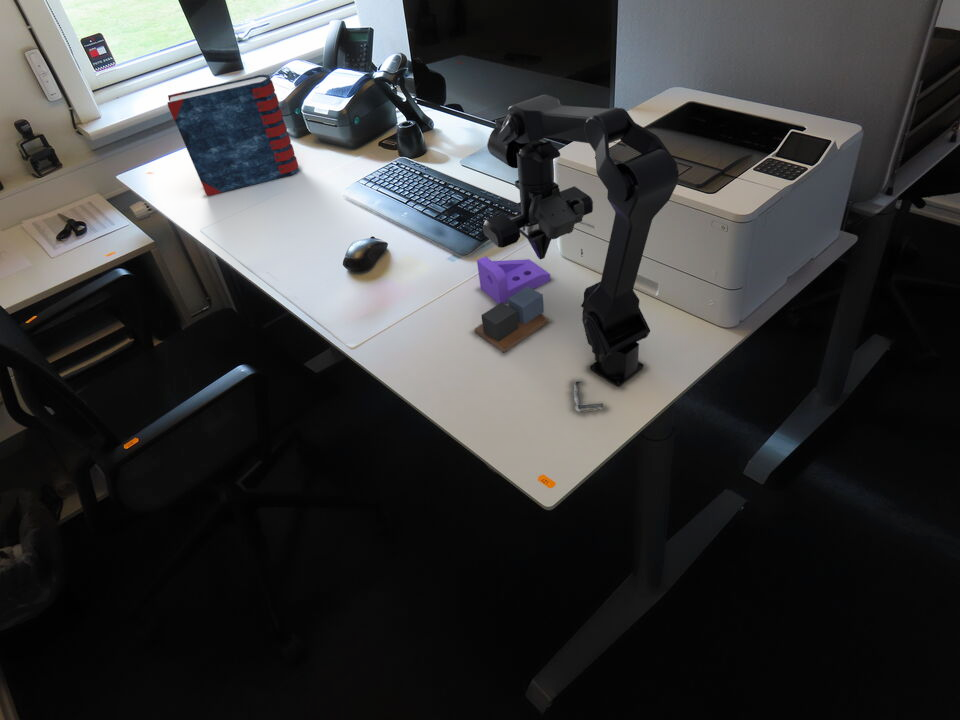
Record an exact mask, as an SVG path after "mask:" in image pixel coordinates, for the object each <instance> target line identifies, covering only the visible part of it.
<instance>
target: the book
mask: <svg viewBox="0 0 960 720" xmlns="http://www.w3.org/2000/svg"><path fill="white" fill-rule="evenodd" d="M275 91H276V89H275V85H274V83H273V80H272V79H271V76H270V75H269V74H258V75H254V76H249V77H245V78H241V79H236V80H231V81H227V82H222V83H217V84H214V85H209V86H206V87H200V88H196V89H191V90H186V91H180V92H176V93H173V94H169V95H167V97H168V101H167V108H168V109H169V112H170V114H171V117H172V118H173V121H174V122H175V125H176V127H177V129H178V131H179V134H180V136H181V139H182V141H183V143H184V145H185V148H186V150H187V153H188V155H189V157H190V160H191V162H192V164H193V167H194V169H195V172H196V174H197V176H198V178H199V181H200V183H201V185H202V188H203V190H204V193H205V195H206V197H209V196H214V195H218V194H221V193H225V192H230V191H233V190H238V189H242V188H245V187H250V186H254V185H257V184H262V183H266V182H269V181H275V180H279V179H282V178H286V177H291V176H294V175H295V174H297V173H298V172H299V171H300V169H299V162H298V160H297V156H296V154H295V150H294V146H293V144H292V140H291V137H290V133H289V132H288V128H287V125H286V122H285V120H284V115H283V110H282V108H281V106H280V101H279V98H278V96H277V94H276V92H275Z"/></svg>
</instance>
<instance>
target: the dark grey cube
mask: <svg viewBox="0 0 960 720" xmlns="http://www.w3.org/2000/svg"><path fill="white" fill-rule="evenodd" d="M480 316H481V324H483V331H484V333H486V334H487V335H489V336H490V337H492V338H493V339H495V340H496V341H498V342H499V341H500V340H502V339H503V338H505V337H506V336H508V335H509V334H511V333H512V332H514V331H515V330H517V329H518V328H519V327H518V317H517V311H516V310H514V309H513V308H511V307H509V304H506V303H503V302H501V303H500V304H498V303H497V304H496V305H495V306H493V307H492V308H490V309H488V310H487V311H485V312H483V313H482V314H481V315H480Z"/></svg>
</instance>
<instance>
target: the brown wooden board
mask: <svg viewBox="0 0 960 720" xmlns="http://www.w3.org/2000/svg"><path fill="white" fill-rule="evenodd" d="M548 323H549V318H548V317H546V316H544V315H543V314H540V315H539V316H537V317H536V318H534V319H532V320H531V321H529V322H528V323H526V324H525V325H524V324H522V323H521V322H519V321H518V327H519V328H518V329H517V330H515V331H514V332H512V333H511V334H509V335H508V336H506V337H505V338H503V339H502V340H500V341H499V342H498V341H496V340H495V339H493V338H492V337H490V336H489V335H487V334H486V333H484V331H483V324H482V323H481V324H480V325H478V326H477V327H475V328H474V334H476V335H477V336H479V337H480V338H482V339H483V340H485V341H486V342H488V343H490V345H492V346H494V347H495V348H497V349H498V350H500V351H501V352H503V353H506V352H507V351H509V350H510V349H511V348H513V347H515V346H517V344H520V342H522V341H523V340H525V339H527V338H528V337H529V336H531V335H532V334H534V333H536V332H537V331H539V330H540V329H541V328H543V327H544V326H546V325H547V324H548Z"/></svg>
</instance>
